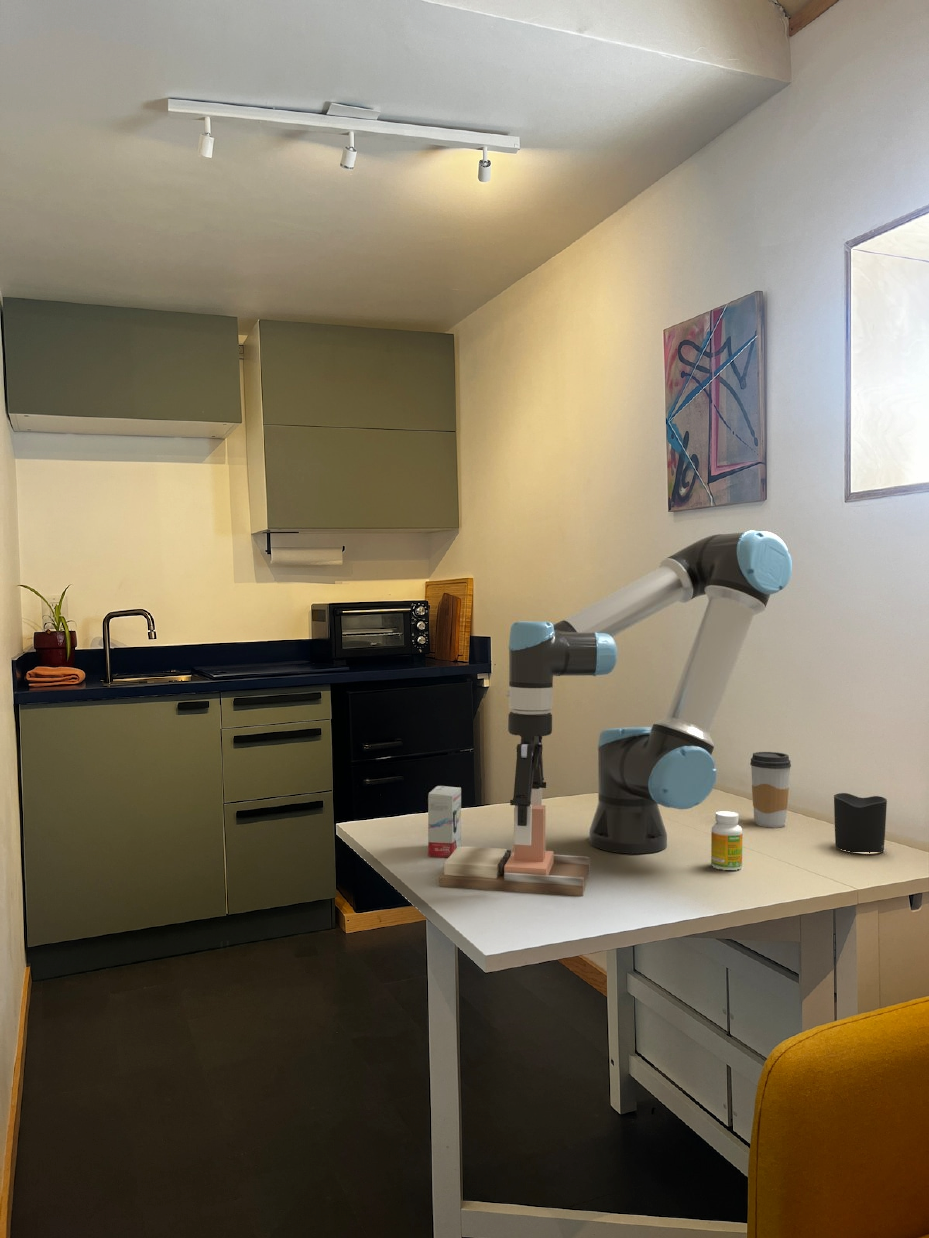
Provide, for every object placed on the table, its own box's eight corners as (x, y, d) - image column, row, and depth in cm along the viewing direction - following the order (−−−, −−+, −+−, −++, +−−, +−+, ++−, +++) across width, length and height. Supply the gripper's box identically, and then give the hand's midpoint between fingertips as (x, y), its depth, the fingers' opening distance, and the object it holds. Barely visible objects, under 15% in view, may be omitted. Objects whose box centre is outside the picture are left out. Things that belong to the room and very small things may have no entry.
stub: (553, 862, 165) (553, 800, 165) (546, 880, 154) (546, 814, 154) (514, 859, 167) (514, 798, 166) (504, 878, 156) (504, 812, 156)
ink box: (452, 858, 173) (452, 795, 173) (426, 856, 174) (427, 794, 174) (461, 846, 182) (462, 786, 181) (437, 844, 183) (437, 784, 182)
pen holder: (859, 857, 174) (860, 804, 174) (822, 845, 183) (823, 794, 183) (897, 852, 178) (898, 800, 178) (859, 840, 186) (860, 791, 186)
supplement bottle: (729, 873, 164) (729, 818, 164) (704, 865, 169) (705, 812, 169) (748, 868, 168) (748, 814, 167) (723, 861, 172) (724, 808, 172)
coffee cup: (794, 822, 201) (795, 753, 201) (785, 831, 194) (785, 759, 194) (755, 817, 205) (756, 750, 205) (744, 825, 198) (745, 755, 198)
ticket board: (589, 871, 165) (589, 850, 165) (582, 895, 152) (582, 873, 152) (457, 862, 170) (457, 842, 170) (439, 886, 157) (439, 864, 157)
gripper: (519, 702, 173) (517, 816, 173) (496, 719, 148) (494, 851, 149) (560, 704, 171) (558, 819, 172) (543, 721, 147) (540, 855, 147)
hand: (528, 834), depth 160 cm, fingers open, 13 cm apart
